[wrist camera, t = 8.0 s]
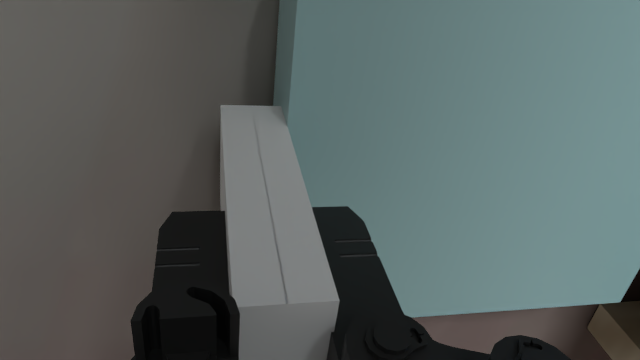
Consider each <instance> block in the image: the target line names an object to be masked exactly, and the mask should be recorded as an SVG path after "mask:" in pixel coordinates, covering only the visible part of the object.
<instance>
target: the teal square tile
mask: <svg viewBox="0 0 640 360" xmlns="http://www.w3.org/2000/svg"><path fill="white" fill-rule="evenodd" d="M273 106H281V107H282V110H283V114H284V117H285V121H286V124H287V127H288V130H289V133H290V136H291V140H292V143H293V146H294V150H295V153H296V156H297V160H298V163H299V167H300V170H301V173H302V177H303V180H304V183H305V187H306V190H307V193H308V197H309V200H310V203H311V207H337V206H348V207H349V208H350V209H351V210H352V211H354V212H355V213H356V214H357V215H358V216H359V217H360V218H361V219H362V220H363V221H364V223H365V225H366V227H367V230H368V232H369V234H370V237H371V242H373V244H374V246H375V248H376V251H377V256H378V257H379V258H380V260H381V262H382V265H383V267H384V269H385V272H386V274H387V276H388V279H389V281H390V283H391V286H392V288H393V290H394V293H395V295H396V297H397V300H398V302H399V304H400V307H401V309H402V311H403V313H404V315H406V316H409V317H411V318H412V317H426V316H439V315H453V314H467V313H481V312H495V311H508V310H522V309H536V308H550V307H563V306H577V305H591V304H605V303H618V302H621V300H622V298H623V296H624V295H625V293H626V291H627V289H628V288H629V286H630V284H631V283H632V281H633V279H634V277H635V276H636V274H637V272H638V270H639V269H640V0H280V3H279V19H278V35H277V51H276V68H275V84H274V100H273Z"/></svg>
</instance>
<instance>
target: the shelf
mask: <svg viewBox="0 0 640 360" xmlns="http://www.w3.org/2000/svg"><path fill="white" fill-rule="evenodd" d="M587 329H588V330H589V331H590V333H591V334H592V335H593V336H594V338H595V339H596V340H597V342H598V343H599V344H600V345H601V347H602V348H603V349H604V350H605V352H606V353H607V354H608V355H609V357H610V358H611V359H612V360H640V301H629V302H618V303H605V304H600V305H599V307H598V308H597V310H596V312H595V314H594V316H593V318H592V319H591V321H590V323H589V325H588V327H587Z"/></svg>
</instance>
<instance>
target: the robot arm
mask: <svg viewBox="0 0 640 360" xmlns="http://www.w3.org/2000/svg"><path fill="white" fill-rule="evenodd" d="M220 207H221V211H193V212H172V213H171V215H170V216H169V217H168V218H167V220H166V221H165V222H164V224H163V225H162V226H161V227H160V229H159V236H158V245H157V253H156V261H155V270H154V278H153V287H152V292H151V293H150V294H149V295H148V296H147V297H146V298H145V299H144V300H143V301H141V302H140V303H139V304H138V305H137V307H136V310H135V312H134V314H133V317H132V319H131V327H132V335H133V343H134V351H135V356H134V357H133V358H132V359H131V360H571V359H570V358H568V357H567V356H566V355H565V354H563V353H562V352H561V351H560V350H558V349H557V348H556V347H554V346H552V345H550V344H548V343H546V342H544V341H542V340H539V339H537V338H532V337H527V336H522V335H518V336H510V337H505V338H503V339H502V340H500V341H499V342H497V343H496V344H495V345H494V347H493V350H492V352H491V354H485V353H480V352H475V351H470V350H465V349H460V348H455V347H451V346H447V345H444V344H441V343H438V342H436V341H434V340H432V338H431V337H430V335H429V334H428V333H427V331H426V330H425V328H424V327H423V326H422V325H420V324H419V323H418V322H416V321H415V320H414V319H412V318H411V317H409V316H406V315H404V313H403V311H402V309H401V307H400V304H399V302H398V300H397V297H396V295H395V293H394V290H393V288H392V286H391V283H390V281H389V279H388V276H387V274H386V272H385V269H384V267H383V265H382V262H381V260H380V258H379V257H378V256H377V251H376V248H375V246H374V244H373V242H371V237H370V234H369V232H368V230H367V227H366V225H365V223H364V221H363V220H362V219H361V218H360V217H359V216H358V215H357V214H356V213H355V212H354V211H352V210H351V209H350V208H349V207H348V206H337V207H311V203H310V200H309V197H308V193H307V190H306V187H305V183H304V180H303V177H302V173H301V170H300V167H299V163H298V160H297V156H296V153H295V150H294V146H293V143H292V140H291V136H290V133H289V130H288V127H287V124H286V121H285V117H284V114H283V110H282V107H281V106H249V105H220Z"/></svg>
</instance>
